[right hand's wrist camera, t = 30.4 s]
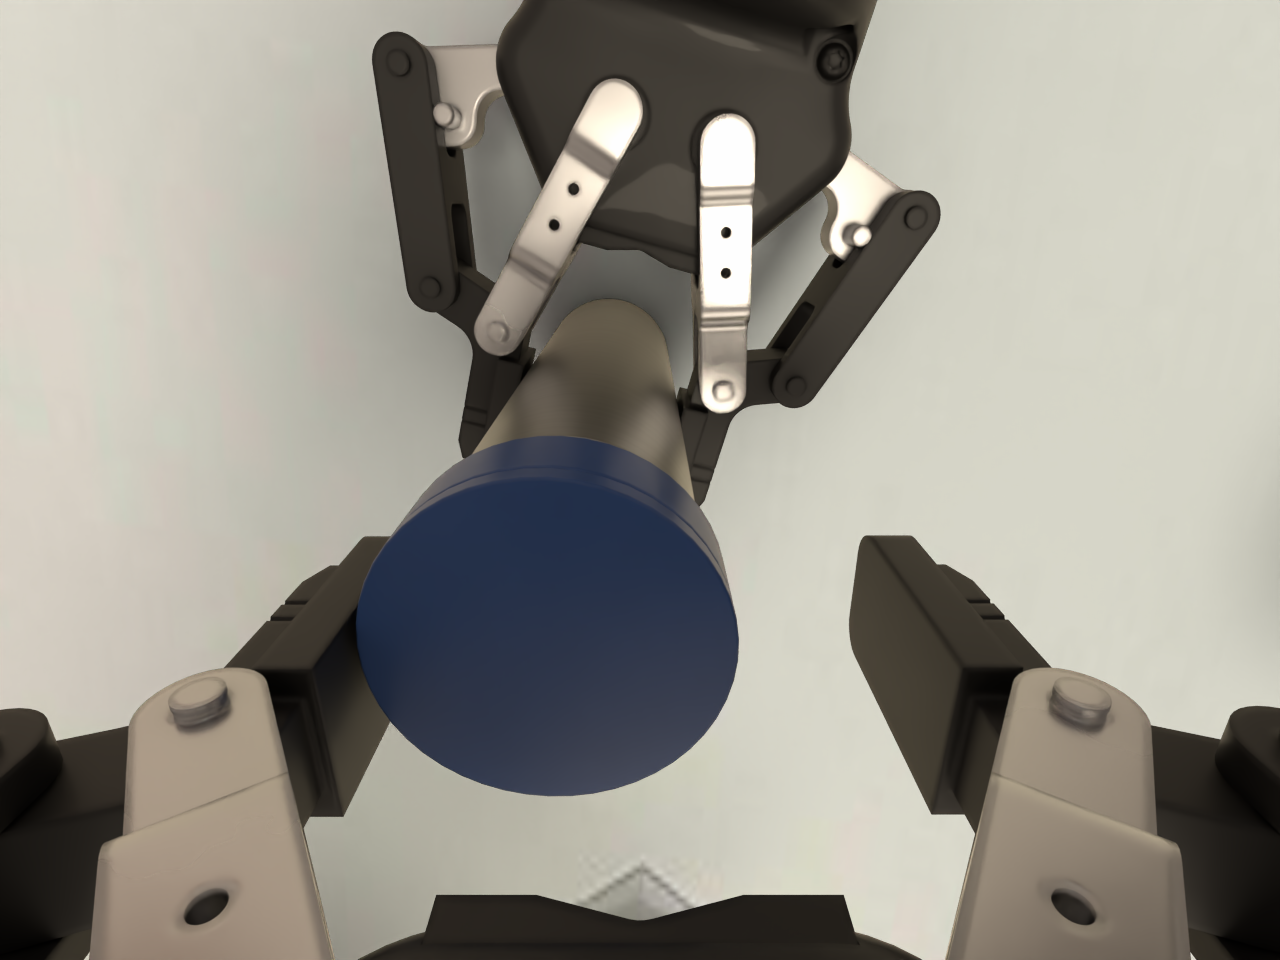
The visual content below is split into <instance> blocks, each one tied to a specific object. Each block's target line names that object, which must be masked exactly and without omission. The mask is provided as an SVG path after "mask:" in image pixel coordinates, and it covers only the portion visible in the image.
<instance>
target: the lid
mask: <svg viewBox="0 0 1280 960" xmlns="http://www.w3.org/2000/svg"><path fill="white" fill-rule="evenodd" d="M356 636H357V649H358V653H359V658H360V663H361V667H362V670H363V673H364V675H365V678H366V681H367V683H368V686H369V688H370V690H371V692H372V694H373V695H374V697H375V699H376V701H377V703H378V705H379V706H380V708H381V709H382V710H383V712H384V713H385V715H386V716H387V717H388V719H389V720H390V721H391V723H392V724H393V725H394V726H395V727H396V728H397V729H398V730H399V731H400V732H401V733H402V734H403V736H404V737H405V738H406V739H407V740H409V741H410V742H411V743H412V744H413V745H415V746H416V747H417V748H418V749H419V750H420V751H422V752H423V753H424V754H426V755H427V756H429V757H430V758H432V759H433V760H435V761H436V762H438V763H439V764H441V765H442V766H444V767H446V768H448V769H450V770H452V771H454V772H456V773H458V774H459V775H461V776H464V777H466V778H469V779H471V780H474V781H476V782H479V783H481V784H484V785H488V786H491V787H495V788H498V789H502V790H506V791H511V792H517V793H522V794H529V795H540V796H575V795H584V794H593V793H598V792H602V791H607V790H612V789H616V788H619V787H622V786H625V785H628V784H631V783H634V782H637V781H639V780H641V779H643V778H645V777H648V776H650V775H652V774H654V773H656V772H658V771H659V770H661V769H663V768H664V767H666V766H668V765H669V764H671V763H673V762H674V761H675V760H677V759H678V758H679V757H681V756H682V755H683V754H684V753H686V752H687V751H688V750H690V749H691V748H692V747H693V746H694V745H695V744H696V743H697V741H698V740H699V739H700V738H701V737H702V736H703V735H704V734H705V733H706V732H707V730H708V729H709V728H710V726H711V725H712V724H713V722H714V721H715V720H716V718H717V717H718V715H719V713H720V711H721V709H722V707H723V706H724V704H725V702H726V700H727V698H728V695H729V692H730V690H731V687H732V684H733V681H734V677H735V672H736V668H737V663H738V648H739V636H738V627H737V619H736V614H735V610H734V606H733V601H732V597H731V592H730V588H729V584H728V579H727V575H726V571H725V566H724V562H723V558H722V555H721V551H720V547H719V544H718V541H717V539H716V536H715V534H714V532H713V530H712V527H711V525H710V523H709V522H708V520H707V518H706V517H705V515H704V514H703V512H702V510H701V509H700V507H699V506H698V505H697V503H696V502H695V501H694V500H693V499H692V497H691V496H690V495H689V494H688V493H687V491H686V490H685V489H684V488H683V487H681V486H680V485H679V484H678V483H677V482H676V481H675V480H674V479H673V478H672V477H670V476H669V475H668V474H666V473H665V472H664V471H662V470H661V469H659V468H658V467H656V466H655V465H654V464H652V463H651V462H649V461H647V460H645V459H643V458H641V457H639V456H637V455H635V454H633V453H631V452H629V451H627V450H624V449H621V448H618V447H616V446H613V445H610V444H607V443H603V442H599V441H594V440H590V439H586V438H578V437H568V436H535V437H528V438H522V439H515V440H511V441H507V442H504V443H500V444H497V445H493V446H490V447H488V448H486V449H483V450H481V451H479V452H476V453H474V454H472V455H470V456H468V457H467V458H465V459H463V460H462V461H460V462H458V463H457V464H455V465H453V466H452V467H451V468H450V469H448V470H447V471H446V472H445V473H443V474H442V475H441V476H440V477H439V478H437V479H436V480H435V481H434V482H433V483H432V485H431V486H430V487H429V488H428V489H427V490H426V491H425V492H424V493H423V494H422V496H421V497H420V498H419V500H418V501H417V502H416V504H415V505H414V506H413V508H412V509H411V510H410V512H409V513H408V514H407V516H406V517H405V518H404V520H403V521H402V522H401V524H400V525H399V526H398V527H397V529H396V530H395V532H394V533H393V534H392V535H391V537H390V538H389V539H388V541H387V542H386V543H385V545H384V546H383V548H382V549H381V551H380V552H379V554H378V555H377V557H376V558H375V560H374V561H373V563H372V565H371V567H370V570H369V572H368V574H367V576H366V578H365V581H364V583H363V587H362V590H361V594H360V598H359V601H358V608H357V618H356Z"/></svg>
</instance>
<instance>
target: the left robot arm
mask: <svg viewBox="0 0 1280 960" xmlns="http://www.w3.org/2000/svg"><path fill="white" fill-rule="evenodd" d="M876 3H877V0H524V1H523V3H522V4H521V6H520V8H519V9H518V11H517V12H516V13H515V15H514V16H513V17H512V18H511V19H510V21H509V22H508V23H507V25H506V26H505V28H504V30H503V32H502V34H501V36H500V39H499V42H498V44H488V45H458V46H424V45H422V44H421V43H419V42H418V41H417V40H415V39H414V38H413V37H411V36H410V35H408V34H405V33H403V32H390V33H387V34H385V35H383V36H382V37H381V38H380V39H379V40H378V41H377V43H376V44H375V47H374V49H373V54H372V65H373V71H374V78H375V84H376V91H377V97H378V104H379V110H380V117H381V123H382V130H383V136H384V143H385V149H386V156H387V162H388V169H389V175H390V182H391V188H392V195H393V202H394V208H395V215H396V221H397V228H398V234H399V241H400V247H401V254H402V260H403V267H404V273H405V280H406V286H407V291H408V294H409V297H410V298H411V300H412V301H413V302H414V304H415V305H417V306H418V307H419V308H421V309H422V310H425V311H428V312H437V313H438V314H440V315H441V316H443V317H444V318H446V319H447V320H449V321H450V322H452V323H453V324H455V325H456V326H458V327H459V328H461V329H462V330H463V331H464V332H465V334H466V335H467V336H468V338H469V340H470V342H471V345H472V349H473V359H472V365H471V370H470V376H469V382H468V388H467V393H466V399H465V407H464V411H463V416H462V422H461V428H460V434H459V439H458V440H459V444H460V449H461V453H462V457H463V458H467V457H468V456H470V455H472V454H473V452H474V451H475V449H476V448H477V446H478V445H479V443H480V442H481V440H482V439H483V437H484V436H485V434H486V433H487V431H488V430H489V428H490V427H491V426H492V424H493V423H494V421H495V420H496V418H497V417H498V415H499V414H500V412H501V411H502V409H503V408H504V406H505V405H506V403H507V402H508V400H509V399H510V398H511V396H512V395H513V393H514V392H515V390H516V389H517V387H518V386H519V384H520V383H521V381H522V380H523V378H524V377H525V375H526V374H527V372H528V371H529V370H530V368H531V367H532V365H533V360H534V356H535V351H536V349H535V348H531V347H528V346H529V341H530V336H531V331H532V329H533V328H534V326H535V324H536V322H537V321H538V319H539V317H540V315H541V314H542V312H543V310H544V308H545V307H546V305H547V303H548V301H549V299H550V298H551V296H552V294H553V292H554V291H555V289H556V287H557V285H558V283H559V282H560V280H561V278H562V277H563V275H564V273H565V272H566V270H567V269H568V267H569V265H570V264H571V262H572V260H573V258H574V257H575V255H576V253H577V251H578V250H579V248H580V246H581V244H582V243H584V244H588V245H591V246H595V247H598V248H602V249H606V250H641V251H643V252H645V253H647V254H648V255H650V256H652V257H653V258H655V259H657V260H658V261H660V262H661V263H663V264H665V265H666V266H668V267H670V268H674V269H677V270H681V271H685V272H688V273H691V301H692V313H693V372H692V376H691V379H690V382H689V386H688V389H685V388H681V387H680V388H679V392H678V395H677V399H676V400H677V406H678V411H679V417H680V422H681V428H682V433H683V439H684V444H685V450H686V455H687V461H688V467H689V472H690V478H691V483H692V489H693V494H694V500H695V502H696V503H697V505H698V506H699V507H700V505H701V504H702V503H703V502H704V501H705V497H706V494H707V491H708V488H709V485H710V481H711V479H712V476H713V473H714V469H715V467H716V464H717V461H718V458H719V455H720V452H721V449H722V446H723V443H724V440H725V437H726V434H727V430H728V427H729V425H730V422H731V420H732V419H733V417H734V416H735V415H736V414H737V413H738V412H739V411H741V410H742V409H744V408H746V407H749V406H752V405H760V404H772V403H780V404H781V405H783V406H785V407H788V408H799V407H802V406H805V405H806V404H808V403H809V402H810V401H812V399H813V398H814V397H815V396H816V394H817V393H818V392H819V390H820V389H821V387H822V386H823V385H824V383H825V382H826V381H827V379H828V378H829V376H830V375H831V374H832V372H833V371H834V370H835V368H836V367H837V365H838V364H839V363H840V361H841V360H842V359H843V357H844V356H845V354H846V353H847V352H848V350H849V349H850V348H851V346H852V345H853V343H854V342H855V341H856V339H857V338H858V336H859V335H860V334H861V332H862V331H863V330H864V328H865V327H866V325H867V324H868V323H869V321H870V320H871V319H872V317H873V316H874V314H875V313H876V312H877V310H878V309H879V308H880V306H881V305H882V303H883V302H884V301H885V299H886V298H887V297H888V295H889V294H890V292H891V291H892V290H893V288H894V287H895V286H896V284H897V283H898V281H899V280H900V279H901V277H902V276H903V275H904V273H905V272H906V270H907V269H908V268H909V266H910V265H911V264H912V262H913V261H914V259H915V258H916V257H917V255H918V254H919V253H920V251H921V250H922V248H923V247H924V246H925V244H926V243H927V242H928V240H929V239H930V237H931V236H932V235H933V233H934V232H935V230H936V229H937V227H938V224H939V221H940V215H941V214H940V206H939V204H938V202H937V200H936V198H935V197H934V196H933V195H931V194H930V193H928V192H925V191H913V190H904V189H901V188H900V187H898V186H897V185H896V184H894V183H893V182H891V181H890V180H889V179H887V178H886V177H885V176H883V175H882V174H880V173H879V172H878V171H876V170H875V169H874V168H872V167H871V166H869V165H868V164H867V163H865V162H864V161H863V160H861V159H860V158H858V157H857V156H856V155H854V154H853V153H852V152H850V147H851V138H852V132H851V124H850V118H849V90H850V83H851V79H852V75H853V71H854V68H855V65H856V63H857V60H858V57H859V54H860V51H861V48H862V45H863V42H864V39H865V36H866V33H867V30H868V27H869V24H870V21H871V18H872V15H873V12H874V9H875V6H876ZM502 96H505V99H506V101H507V104H508V106H509V109H510V111H511V114H512V116H513V118H514V121H515V123H516V126H517V128H518V131H519V133H520V136H521V138H522V141H523V143H524V146H525V148H526V151H527V153H528V156H529V158H530V160H531V163H532V165H533V168H534V170H535V173H536V175H537V178H538V180H539V183H540V185H541V188H542V191H541V193H540V194H539V196H538V198H537V200H536V202H535V204H534V206H533V208H532V210H531V211H530V213H529V215H528V217H527V219H526V221H525V223H524V225H523V227H522V229H521V230H520V232H519V234H518V236H517V238H516V240H515V242H514V244H513V246H512V248H511V250H510V253H509V257H508V260H507V262H506V265H505V266H504V268H503V270H502V272H501V274H500V276H499V278H498V280H497V282H496V283H494V282H493V281H491V280H490V279H488V278H487V277H485V276H484V275H482V274H481V273H479V272H478V271H477V270H476V261H475V252H474V244H473V235H472V226H471V218H470V209H469V200H468V191H467V183H466V174H465V165H464V156H463V149H468V148H471V147H473V146H475V145H476V144H477V143H478V142H479V141H480V140H481V138H482V136H483V133H484V129H485V116H486V112H487V110H488V108H489V106H490V105H491V103H492V102H493V101H495V100H496V99H498V98H499V97H502ZM821 190H822V191H823V193H824V194H825V196H826V198H827V202H828V214H827V217H826V220H825V222H824V224H823V226H822V229H821V234H820V238H821V243H822V246H823V248H824V249H825V251H826V252H827V253H828V254H830V255H829V256H828V258H827V259H826V261H825V262H824V263H823V265H822V266H821V268H820V269H819V271H818V272H817V274H816V275H815V277H814V278H813V280H812V281H811V283H810V284H809V286H808V287H807V288H806V290H805V291H804V293H803V294H802V296H801V297H800V299H799V300H798V302H797V303H796V305H795V306H794V308H793V309H792V311H791V312H790V314H789V315H788V316H787V318H786V319H785V321H784V322H783V324H782V325H781V327H780V328H779V330H778V331H777V333H776V334H775V336H774V337H773V339H772V340H771V341H770V343H769V344H768V346H767V347H766V349H757V350H747V327H748V322H749V319H750V309H751V260H752V247H753V246H754V245H755V244H757V243H758V242H759V241H760V240H762V239H763V238H764V237H765V236H766V235H768V234H769V233H770V232H771V231H773V230H774V229H775V228H776V227H777V226H779V225H780V224H781V223H782V222H784V221H785V220H786V219H787V218H788V217H790V216H791V215H792V214H793V213H795V212H796V211H797V210H798V209H799V208H801V207H802V206H803V205H804V204H806V203H807V202H808V201H809V200H810V199H812V198H813V197H814V196H815V195H817V194H818V193H819V192H820V191H821Z"/></svg>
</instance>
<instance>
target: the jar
mask: <svg viewBox="0 0 1280 960" xmlns="http://www.w3.org/2000/svg"><path fill="white" fill-rule="evenodd" d="M535 436H568V437H578V438H586V439H590V440H594V441H599V442H603V443H607V444H610V445H613V446H616V447H618V448H621V449H624V450H627V451H629V452H631V453H633V454H635V455H637V456H639V457H641V458H643V459H645V460H647V461H649V462H651V463H652V464H654V465H655V466H656V467H658V468H659V469H661V470H662V471H664V472H665V473H666V474H668V475H669V476H670V477H672V478H673V479H674V480H675V481H676V482H677V483H678V484H679V485H680V486H681V487H683V488H684V489H685V490H686V491H687V493H688V494H689V495H690V496H691V497H692V499H693V500H694V494H693V489H692V483H691V478H690V472H689V467H688V461H687V455H686V450H685V444H684V439H683V433H682V428H681V422H680V417H679V411H678V406H677V400H676V394H675V389H674V383H673V378H672V372H671V367H670V361H669V356H668V350H667V345H666V342H665V338H664V336H663V334H662V331H661V330H660V328H659V326H658V325H657V323H656V322H655V321H654V319H653V318H652V317H651V316H650V315H649V314H648V313H646V312H645V311H644V310H642V309H641V308H639V307H637V306H636V305H634V304H631V303H629V302H626V301H622V300H617V299H599V300H594V301H591V302H588V303H585V304H583V305H581V306H579V307H578V308H576V309H574V310H573V311H572V312H571V313H570V314H568V315H567V316H566V318H565V319H564V320H563V321H562V322H561V324H560V325H559V327H558V328H557V330H556V331H555V333H554V334H553V336H552V337H551V339H550V340H549V342H548V343H547V344H546V346H545V347H544V349H543V350H542V352H541V353H540V355H539V356H538V358H537V359H536V361H535V362H534V364H533V365H532V367H531V368H530V370H529V371H528V372H527V374H526V375H525V377H524V378H523V380H522V381H521V383H520V384H519V386H518V387H517V389H516V390H515V392H514V393H513V395H512V396H511V398H510V399H509V400H508V402H507V403H506V405H505V406H504V408H503V409H502V411H501V412H500V414H499V415H498V417H497V418H496V420H495V421H494V423H493V424H492V426H491V427H490V428H489V430H488V431H487V433H486V434H485V436H484V437H483V439H482V440H481V442H480V443H479V445H478V446H477V448H476V449H475V451H474V452H473V454H474V453H476V452H479V451H481V450H483V449H486V448H488V447H490V446H493V445H497V444H500V443H504V442H507V441H511V440H515V439H522V438H528V437H535ZM694 501H695V500H694Z"/></svg>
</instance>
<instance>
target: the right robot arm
mask: <svg viewBox="0 0 1280 960" xmlns="http://www.w3.org/2000/svg"><path fill="white" fill-rule="evenodd" d="M390 537H391V536H367V537H363V538H362V539H361V540H360V541H359V542H358V544H357V545H356V546H355V547H354V548H353V550H352V551H351V552H350V553H349V554H348V555H347V557H346V558H345V559H344V560H343V561H342V562H341V564H340V565H339V566H329V567H327V568H325V569H324V570H322V571H320V572H319V573H317V574H315V575H313V576H312V577H310V578H308V579H307V580H305V581H303V582H302V583H301V584H300V585H299V586H298V587H297V589H296V590H295V591H294V592H293V593H292V594H291V595H290V596H289V597H288V598H287V600H286V601H285V605H281V606H280V607H279V608H278V609H277V610H276V612H275V613H274V614H273V615H272V616H271V620H270V621H266V623H265V624H264V625H263V626H262V627H261V628H260V629H259V630H258V631H257V632H256V633H255V635H254V636H253V637H252V638H251V639H250V640H249V641H248V642H247V643H246V644H245V646H244V647H243V648H242V649H241V650H240V651H239V652H238V653H237V654H236V655H235V656H234V658H233V659H232V660H231V661H230V662H229V663H228V664H227V665H226V666H225V667H224V668H221V669H215V670H209V671H206V672H202V673H198V674H195V675H192V676H189V677H186V678H184V679H182V680H179V681H177V682H175V683H173V684H171V685H169V686H167V687H165V688H164V689H162V690H160V691H159V692H157V693H156V694H154V695H153V696H152V697H150V698H149V699H148V700H146V701H145V702H144V703H143V704H142V705H141V706H140V707H139V708H138V710H137V711H136V712H135V713H134V715H133V717H132V719H131V721H130V724H129V726H126V727H122V728H117V729H113V730H108V731H103V732H98V733H93V734H88V735H83V736H78V737H73V738H69V739H64V740H59V741H56V739H55V737H54V734H53V732H52V730H51V727H50V725H49V722H48V720H47V718H46V716H45V715H44V714H43V713H41V712H39V711H36V710H32V709H24V708H15V709H4V710H0V960H84V959H85V957H86V956H87V955H88V953H89V952H90V956H89V960H335V957H334V953H333V949H332V945H331V941H330V936H329V932H328V928H327V924H326V920H325V916H324V911H323V907H322V903H321V899H320V895H319V891H318V886H317V882H316V878H315V874H314V870H313V865H312V861H311V857H310V853H309V849H308V845H307V841H306V837H305V833H304V829H303V828H304V826H305V824H306V822H307V821H308V819H309V817H343V816H344V814H345V812H346V810H347V808H348V806H349V804H350V802H351V800H352V798H353V796H354V794H355V792H356V790H357V788H358V786H359V784H360V782H361V780H362V778H363V776H364V774H365V772H366V770H367V767H368V765H369V763H370V761H371V759H372V757H373V755H374V753H375V751H376V749H377V747H378V745H379V743H380V741H381V739H382V737H383V735H384V733H385V731H386V729H387V727H388V725H389V723H390V720H389V719H388V717H387V716H386V715H385V713H384V712H383V710H382V709H381V708H380V706H379V705H378V703H377V701H376V699H375V697H374V695H373V694H372V692H371V690H370V688H369V686H368V683H367V681H366V678H365V675H364V673H363V670H362V667H361V663H360V658H359V653H358V649H357V636H356V618H357V608H358V601H359V598H360V594H361V590H362V587H363V583H364V581H365V578H366V576H367V574H368V572H369V570H370V567H371V565H372V563H373V561H374V560H375V558H376V557H377V555H378V554H379V552H380V551H381V549H382V548H383V546H384V545H385V543H386V542H387V541H388V539H389V538H390ZM849 633H850V641H851V646H852V650H853V653H854V655H855V657H856V660H857V662H858V664H859V666H860V668H861V670H862V672H863V674H864V676H865V678H866V680H867V682H868V684H869V686H870V688H871V691H872V693H873V695H874V697H875V699H876V701H877V703H878V705H879V707H880V709H881V711H882V713H883V715H884V717H885V719H886V721H887V724H888V726H889V728H890V730H891V732H892V734H893V736H894V738H895V740H896V742H897V744H898V746H899V748H900V750H901V752H902V755H903V757H904V759H905V761H906V763H907V765H908V767H909V769H910V771H911V773H912V775H913V777H914V779H915V781H916V783H917V785H918V788H919V790H920V792H921V794H922V796H923V798H924V800H925V802H926V804H927V806H928V808H929V810H930V812H931V814H965V816H966V818H967V819H968V821H969V823H970V825H971V827H972V829H973V831H974V832H975V837H974V841H973V845H972V849H971V853H970V857H969V861H968V865H967V870H966V874H965V878H964V882H963V886H962V891H961V895H960V899H959V903H958V907H957V911H956V916H955V920H954V924H953V928H952V932H951V936H950V941H949V945H948V949H947V953H946V957H945V960H1191V956H1190V952H1191V953H1192V955H1193V956H1194V957H1195V959H1196V960H1280V708H1274V707H1267V706H1249V707H1244V708H1240V709H1238V710H1236V711H1234V712H1233V713H1232V714H1231V716H1230V718H1229V720H1228V723H1227V725H1226V728H1225V730H1224V733H1223V735H1222V738H1221V740H1220V739H1215V738H1210V737H1205V736H1201V735H1196V734H1191V733H1186V732H1181V731H1176V730H1171V729H1166V728H1162V727H1157V726H1152V725H1151V724H1150V721H1149V719H1148V717H1147V715H1146V713H1145V712H1144V711H1143V710H1142V708H1141V707H1140V706H1139V705H1138V704H1137V703H1136V702H1135V701H1134V700H1132V699H1131V698H1130V697H1128V696H1127V695H1126V694H1124V693H1123V692H1121V691H1120V690H1118V689H1116V688H1115V687H1113V686H1111V685H1109V684H1107V683H1105V682H1103V681H1101V680H1098V679H1096V678H1094V677H1091V676H1088V675H1085V674H1082V673H1078V672H1074V671H1071V670H1065V669H1059V668H1051V666H1050V665H1049V664H1048V663H1047V662H1046V661H1045V660H1044V659H1043V658H1042V656H1041V655H1040V654H1039V653H1038V652H1037V651H1036V650H1035V649H1034V648H1033V647H1032V645H1031V644H1030V643H1029V642H1028V641H1027V640H1026V639H1025V638H1024V637H1023V635H1022V634H1021V633H1020V632H1019V631H1018V630H1017V629H1016V628H1015V627H1014V626H1013V624H1012V623H1011V622H1010V621H1009V620H1005V618H1004V614H1003V613H1002V612H1001V611H1000V610H999V609H998V608H997V607H996V606H995V605H994V604H991V603H990V599H989V598H988V597H987V596H986V595H985V593H984V592H983V591H982V590H981V589H980V588H979V587H978V586H977V585H976V584H975V582H974V581H973V580H971V579H969V578H967V577H966V576H964V575H962V574H961V573H959V572H957V571H956V570H954V569H952V568H951V567H949V566H947V565H937V564H936V563H935V562H934V561H933V559H932V558H931V557H930V556H929V555H928V553H927V552H926V551H925V550H924V549H923V548H922V546H921V545H920V544H919V543H918V542H917V540H916V539H915V538H914V537H912V536H864V537H863V538H862V540H861V542H860V545H859V550H858V557H857V564H856V572H855V579H854V587H853V594H852V601H851V609H850V617H849ZM358 960H922V959H920V958H918V957H916V956H914V955H912V954H910V953H908V952H906V951H904V950H902V949H900V948H898V947H896V946H894V945H891V944H889V943H886V942H883V941H881V940H878V939H876V938H873V937H870V936H867V935H864V934H860V933H856V932H854V928H853V925H852V921H851V918H850V915H849V911H848V908H847V905H846V901H845V898H844V895H742V896H738V897H734V898H730V899H726V900H723V901H719V902H715V903H711V904H707V905H704V906H700V907H696V908H692V909H688V910H684V911H681V912H677V913H673V914H669V915H665V916H662V917H658V918H654V919H649V920H631V919H626V918H622V917H618V916H615V915H611V914H607V913H603V912H599V911H596V910H592V909H588V908H584V907H580V906H576V905H573V904H569V903H565V902H561V901H557V900H554V899H550V898H546V897H542V896H538V895H436V898H435V901H434V905H433V908H432V911H431V915H430V918H429V921H428V925H427V928H426V932H424V933H420V934H416V935H413V936H410V937H407V938H404V939H402V940H399V941H397V942H394V943H391V944H389V945H386V946H384V947H382V948H380V949H378V950H376V951H374V952H372V953H370V954H368V955H366V956H364V957H362V958H360V959H358Z"/></svg>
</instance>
